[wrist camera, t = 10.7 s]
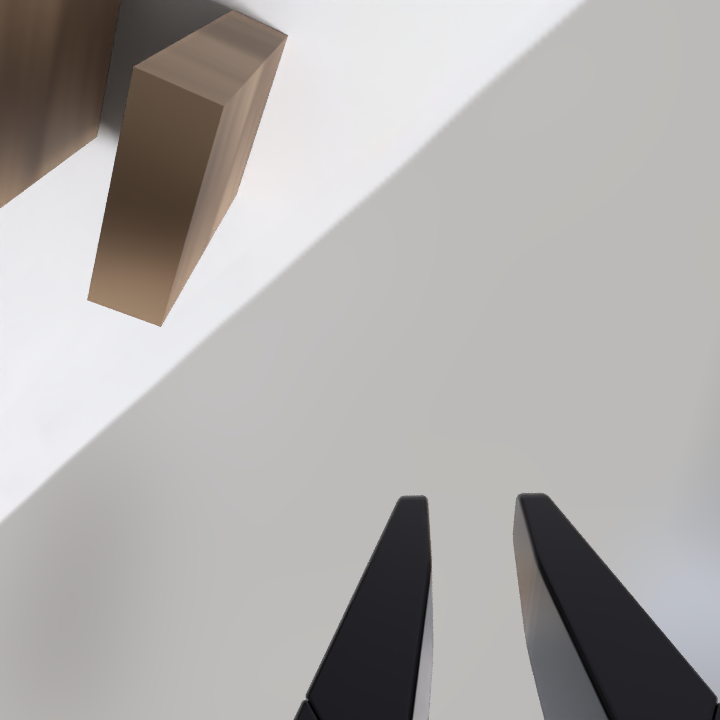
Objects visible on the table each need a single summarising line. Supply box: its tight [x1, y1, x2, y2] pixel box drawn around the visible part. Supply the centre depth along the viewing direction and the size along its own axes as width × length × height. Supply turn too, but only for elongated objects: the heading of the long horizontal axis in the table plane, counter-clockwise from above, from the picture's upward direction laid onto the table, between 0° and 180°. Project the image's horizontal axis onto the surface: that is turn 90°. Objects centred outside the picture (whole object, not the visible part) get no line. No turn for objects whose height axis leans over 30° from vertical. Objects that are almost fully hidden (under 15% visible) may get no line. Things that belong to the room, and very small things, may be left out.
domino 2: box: [87, 10, 288, 327], centre depth 15 cm, size 5×2×8 cm, turn 157°
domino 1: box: [0, 0, 121, 208], centre depth 15 cm, size 5×2×8 cm, turn 157°
